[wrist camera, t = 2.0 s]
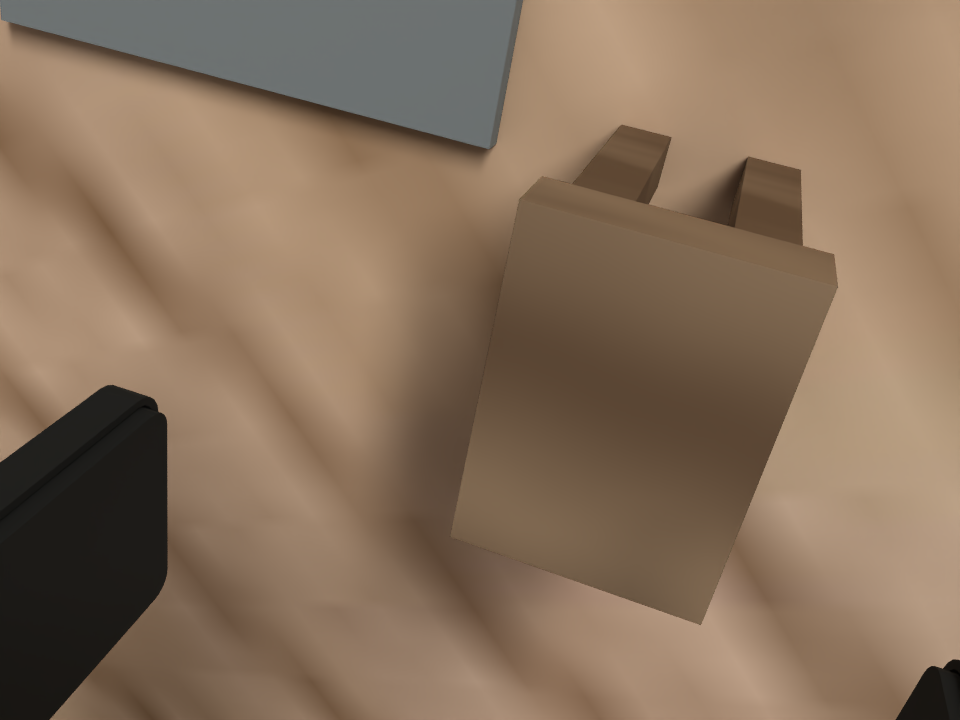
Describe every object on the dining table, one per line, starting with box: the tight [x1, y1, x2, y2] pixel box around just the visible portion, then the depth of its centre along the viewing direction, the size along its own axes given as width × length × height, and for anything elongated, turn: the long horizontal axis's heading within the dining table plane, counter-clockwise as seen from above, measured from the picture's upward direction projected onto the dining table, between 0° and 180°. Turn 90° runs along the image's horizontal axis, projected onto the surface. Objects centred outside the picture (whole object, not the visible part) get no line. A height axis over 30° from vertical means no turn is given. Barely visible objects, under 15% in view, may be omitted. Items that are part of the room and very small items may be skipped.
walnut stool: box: [450, 125, 838, 625], centre depth 19 cm, size 7×5×8 cm
